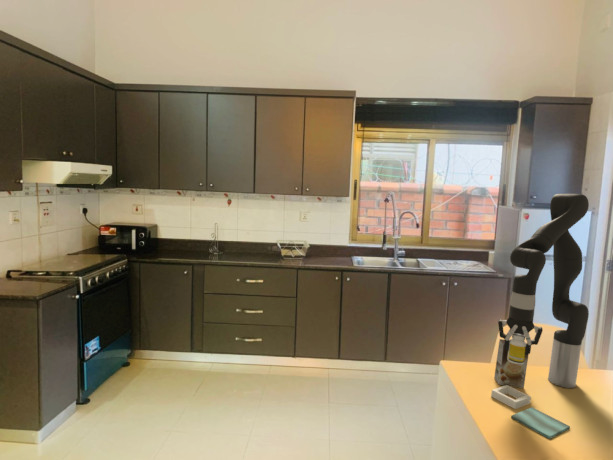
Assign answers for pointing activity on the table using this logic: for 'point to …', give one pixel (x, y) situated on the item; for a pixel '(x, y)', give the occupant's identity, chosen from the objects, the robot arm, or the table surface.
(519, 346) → the supplement bottle
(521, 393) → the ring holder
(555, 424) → the teal board
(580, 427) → the table surface
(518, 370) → the coffee box
